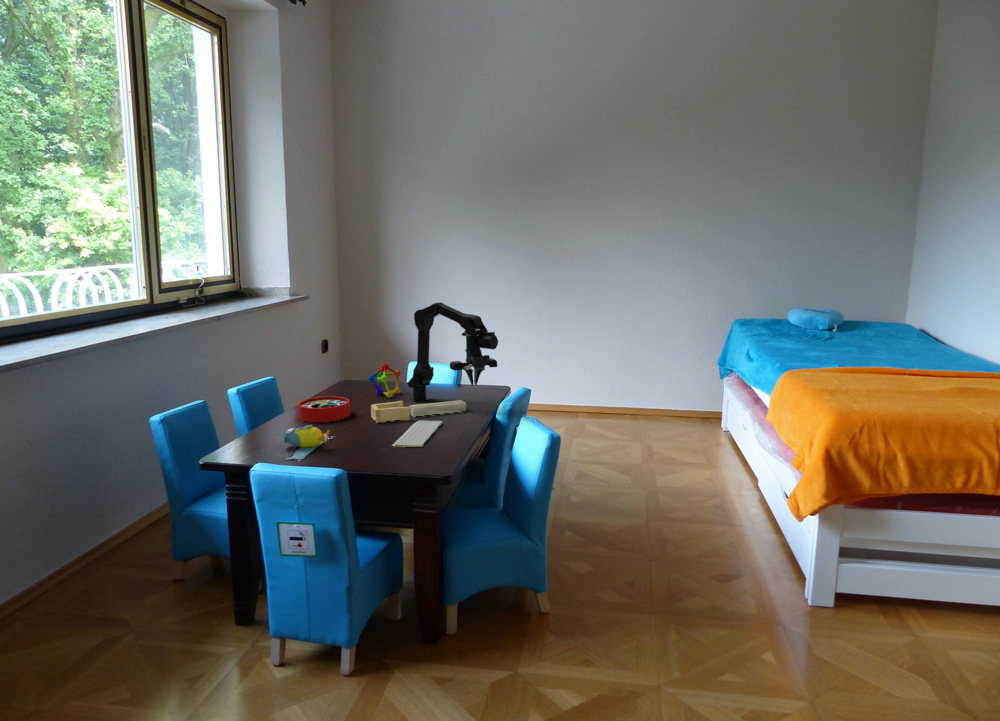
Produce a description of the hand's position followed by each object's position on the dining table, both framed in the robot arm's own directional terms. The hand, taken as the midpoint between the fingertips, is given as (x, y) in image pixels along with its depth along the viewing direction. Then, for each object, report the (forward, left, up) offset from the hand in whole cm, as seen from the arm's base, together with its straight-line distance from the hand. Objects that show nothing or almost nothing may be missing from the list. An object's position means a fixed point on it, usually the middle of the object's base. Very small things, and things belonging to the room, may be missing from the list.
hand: (473, 385), depth 290 cm
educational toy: (-39, -28, -10) cm, 49 cm away
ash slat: (0, -15, -10) cm, 19 cm away
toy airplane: (+26, -70, -11) cm, 75 cm away
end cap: (0, -35, -10) cm, 36 cm away
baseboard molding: (+26, -31, -11) cm, 42 cm away
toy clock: (-14, -58, -10) cm, 61 cm away
